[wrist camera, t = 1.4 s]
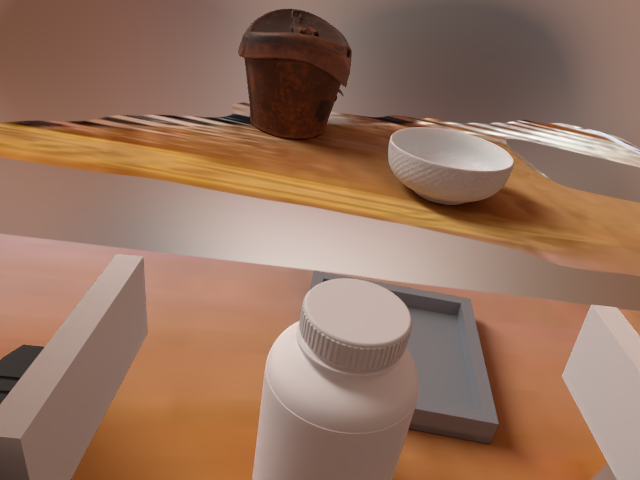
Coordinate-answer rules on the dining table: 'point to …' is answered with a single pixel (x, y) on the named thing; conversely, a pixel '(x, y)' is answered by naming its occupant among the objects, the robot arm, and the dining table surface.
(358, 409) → the pill bottle
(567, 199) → the dining table surface
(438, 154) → the cereal bowl
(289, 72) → the brown plant pot
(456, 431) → the tray
